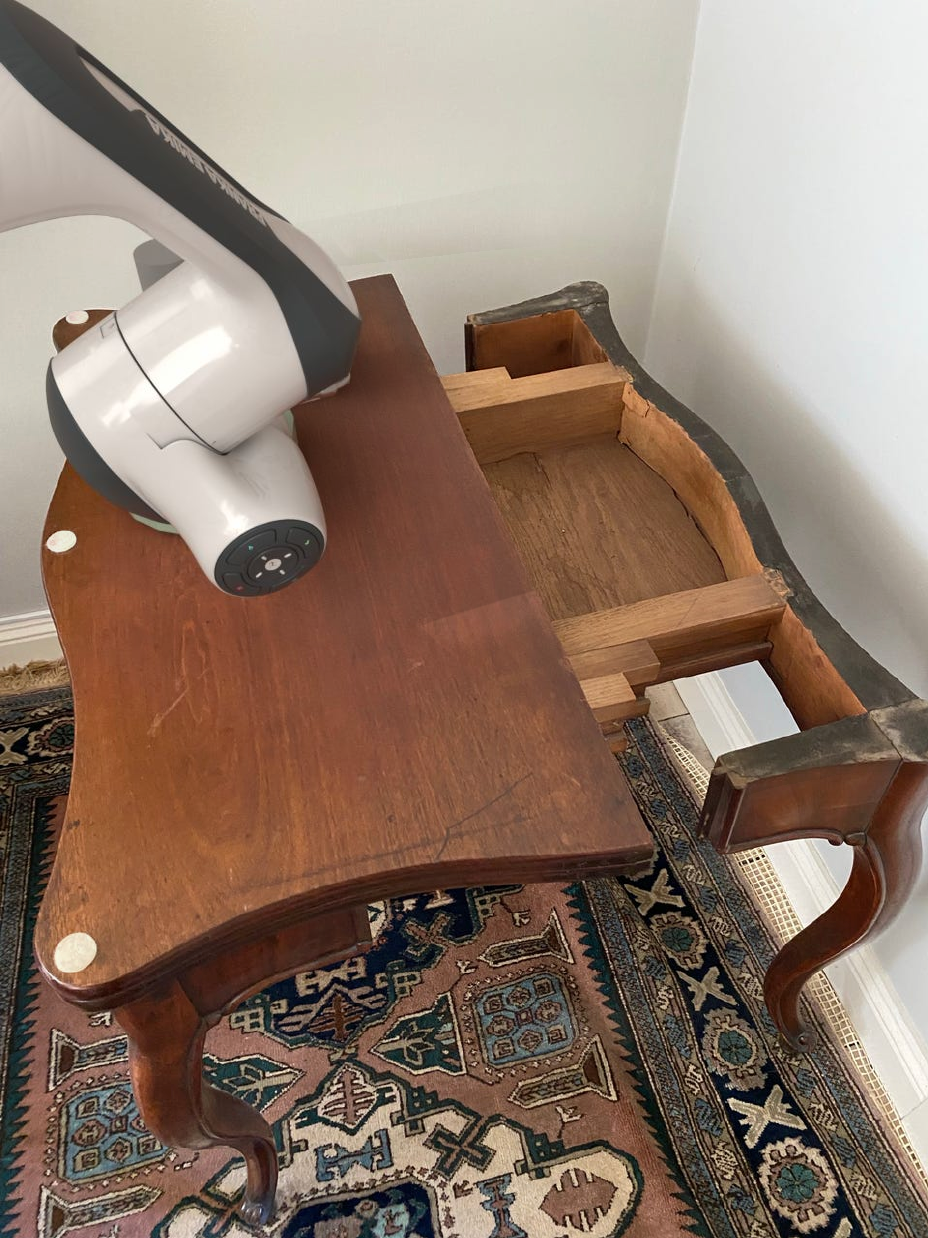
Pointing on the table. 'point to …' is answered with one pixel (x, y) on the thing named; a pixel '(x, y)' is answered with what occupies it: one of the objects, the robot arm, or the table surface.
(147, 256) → the container
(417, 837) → the table surface
